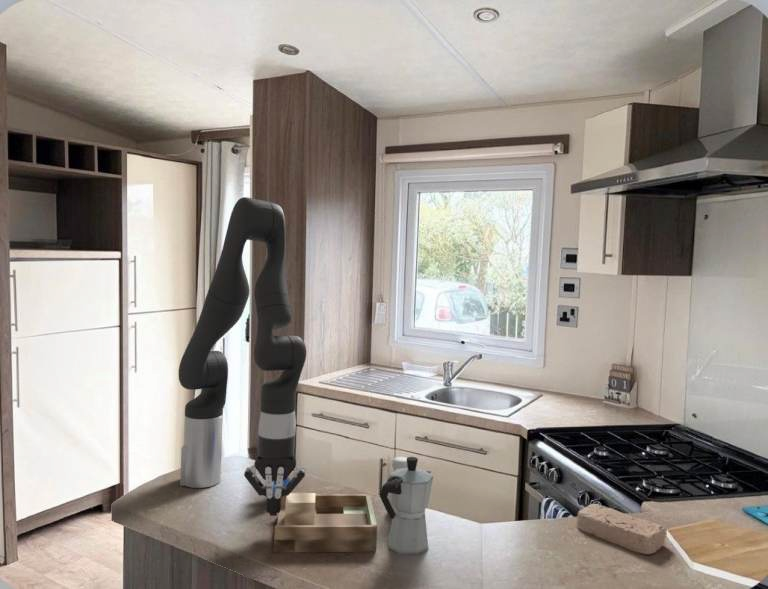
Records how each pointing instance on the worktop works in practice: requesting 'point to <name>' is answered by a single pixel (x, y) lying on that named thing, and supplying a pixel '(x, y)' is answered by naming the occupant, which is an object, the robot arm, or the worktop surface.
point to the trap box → (331, 526)
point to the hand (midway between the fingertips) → (273, 514)
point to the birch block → (300, 509)
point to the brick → (621, 528)
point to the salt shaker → (396, 464)
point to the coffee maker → (408, 508)
